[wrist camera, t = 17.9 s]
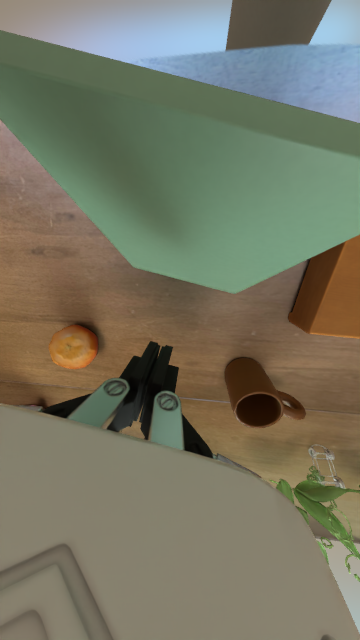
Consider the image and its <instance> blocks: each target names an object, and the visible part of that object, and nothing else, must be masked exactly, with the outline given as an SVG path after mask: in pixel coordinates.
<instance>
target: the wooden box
mask: <svg viewBox="0 0 360 640" xmlns="http://www.w3.org/2000/svg"><path fill="white" fill-rule="evenodd" d="M288 319H289V321H290V322H291V323H293V324H294V325H296V326H297V327H299V328H300V329H302V330H303V331H305V332H306V333H308V334H318V335H329V336H339V337H349V338H359V339H360V235H358V236H356V237H353V238H351V239H349V240H347V241H345V242H343V243H341V244H339V245H337V246H335V247H332V248H330V249H328V250H326V251H324V252H322V253H320V254H318V255H316V256H314V257H311V260H310V263H309V266H308V268H307V271H306V274H305V277H304V280H303V283H302V286H301V289H300V292H299V294H298V297H297V300H296V303H295V306H294V309H293V312H290V313H289V316H288Z"/></svg>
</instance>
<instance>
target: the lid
mask: <svg viewBox="0 0 360 640" xmlns="http://www.w3.org/2000/svg"><path fill="white" fill-rule="evenodd" d="M0 120H1V121H2V122H3V123H4V124H5V125H6V126H7V127H8V128H9V130H10V131H11V132H12V133H13V134H14V135H15V136H16V137H17V138H18V140H19V141H20V142H21V143H22V144H23V145H24V146H25V147H26V148H27V150H28V151H29V152H30V153H31V154H32V155H33V156H34V157H35V158H36V160H37V161H38V162H39V163H40V164H41V165H42V166H43V167H44V168H45V170H46V171H47V172H48V173H49V174H50V175H51V176H52V177H53V178H54V180H55V181H56V182H57V183H58V184H59V185H60V186H61V187H62V188H63V190H64V191H65V192H66V193H67V194H68V195H69V196H70V197H71V198H72V200H73V201H74V202H75V203H76V204H77V205H78V206H79V207H80V208H81V210H82V211H83V212H84V213H85V214H86V215H87V216H88V217H89V218H90V220H91V221H92V222H93V223H94V224H95V225H96V226H97V227H98V228H99V229H100V231H101V232H102V233H103V234H104V235H105V236H106V237H107V238H108V239H109V241H110V242H111V243H112V244H113V245H114V246H115V247H116V248H117V249H118V251H119V252H120V253H121V254H122V255H123V256H124V257H125V258H126V259H127V261H128V262H129V263H130V264H131V265H132V266H133V267H134V268H138V269H142V270H146V271H150V272H153V273H157V274H161V275H165V276H168V277H172V278H176V279H180V280H184V281H187V282H191V283H195V284H199V285H203V286H206V287H210V288H214V289H218V290H222V291H225V292H229V293H233V294H236V293H238V292H240V291H242V290H244V289H246V288H248V287H251V286H253V285H255V284H257V283H259V282H261V281H263V280H265V279H267V278H269V277H272V276H274V275H276V274H278V273H280V272H282V271H284V270H286V269H288V268H290V267H293V266H295V265H297V264H299V263H301V262H303V261H305V260H307V259H309V258H311V257H314V256H316V255H318V254H320V253H322V252H324V251H326V250H328V249H330V248H332V247H335V246H337V245H339V244H341V243H343V242H345V241H347V240H349V239H351V238H353V237H356V236H358V235H360V123H357V122H353V121H349V120H345V119H341V118H338V117H334V116H330V115H326V114H322V113H318V112H314V111H311V110H307V109H303V108H299V107H295V106H291V105H287V104H284V103H280V102H276V101H272V100H268V99H264V98H260V97H256V96H253V95H249V94H245V93H241V92H237V91H233V90H229V89H226V88H222V87H218V86H214V85H210V84H206V83H202V82H199V81H195V80H191V79H187V78H183V77H179V76H175V75H172V74H168V73H164V72H160V71H156V70H152V69H148V68H145V67H141V66H137V65H133V64H129V63H125V62H121V61H117V60H113V59H110V58H106V57H102V56H98V55H94V54H90V53H87V52H83V51H79V50H75V49H71V48H67V47H63V46H60V45H56V44H51V43H48V42H44V41H40V40H36V39H32V38H28V37H25V36H21V35H17V34H13V33H9V32H5V31H1V30H0Z"/></svg>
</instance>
